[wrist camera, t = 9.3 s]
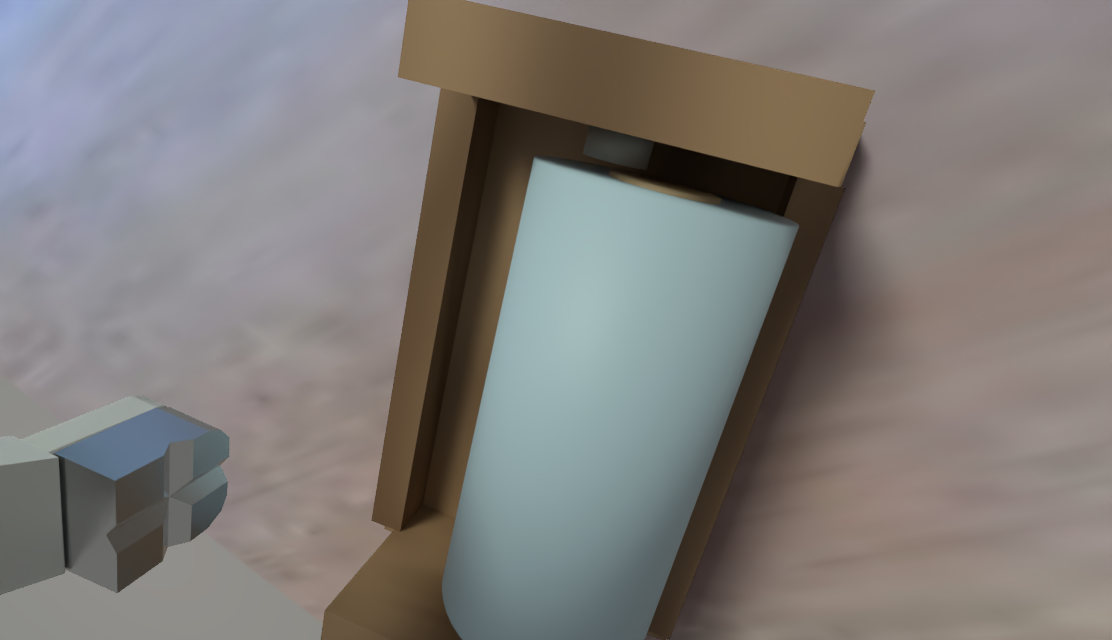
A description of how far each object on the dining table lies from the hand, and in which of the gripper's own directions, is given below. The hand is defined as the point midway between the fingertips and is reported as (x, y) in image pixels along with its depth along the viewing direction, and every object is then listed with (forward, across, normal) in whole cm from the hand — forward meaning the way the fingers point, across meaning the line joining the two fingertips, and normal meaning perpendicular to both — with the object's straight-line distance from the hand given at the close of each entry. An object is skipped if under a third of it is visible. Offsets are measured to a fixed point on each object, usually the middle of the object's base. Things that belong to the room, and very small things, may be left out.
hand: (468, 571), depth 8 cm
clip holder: (+10, +1, +1) cm, 10 cm away
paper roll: (+9, 0, 0) cm, 9 cm away
